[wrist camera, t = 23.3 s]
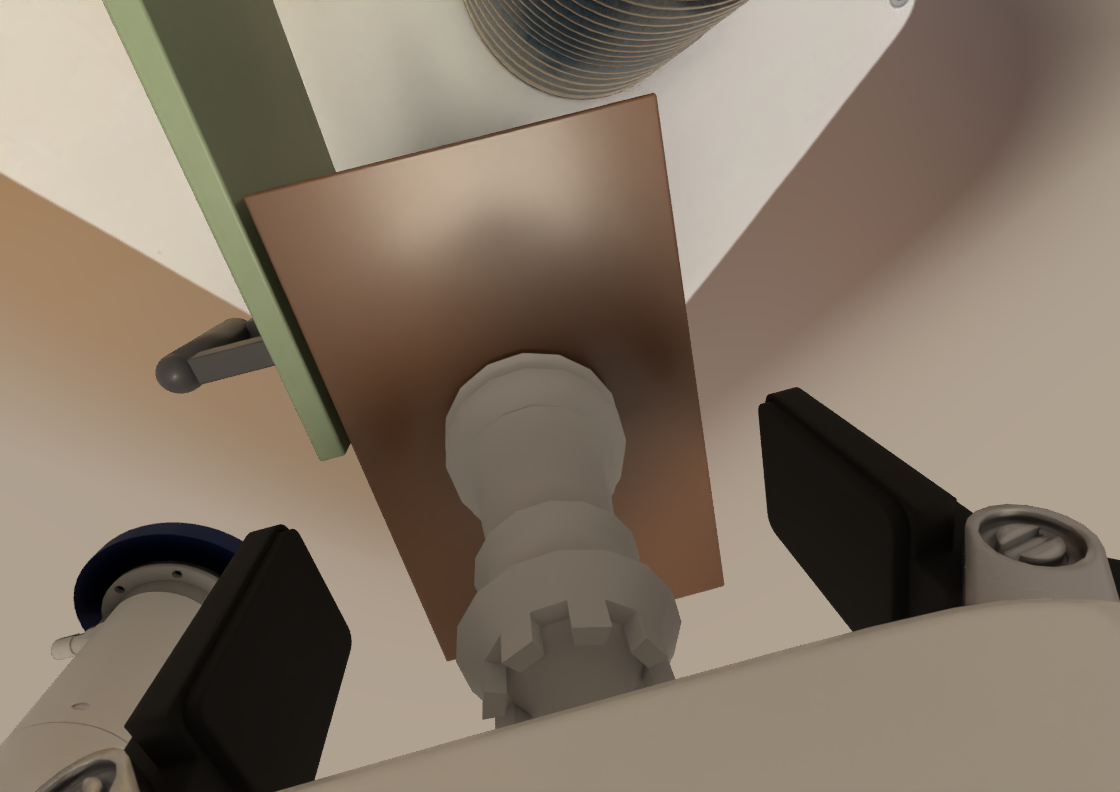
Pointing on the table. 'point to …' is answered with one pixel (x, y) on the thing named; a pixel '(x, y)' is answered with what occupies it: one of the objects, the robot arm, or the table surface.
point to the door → (235, 177)
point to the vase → (592, 39)
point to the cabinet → (502, 323)
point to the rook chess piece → (551, 545)
